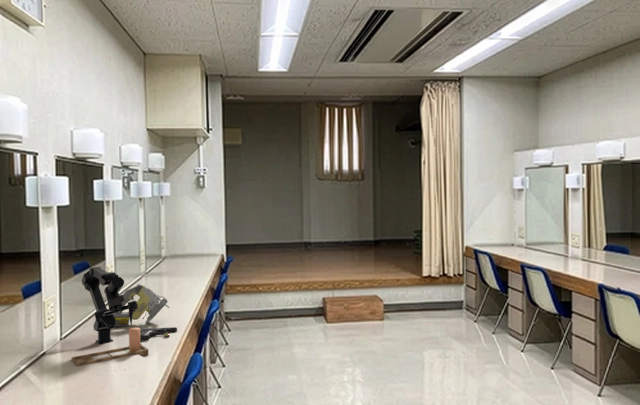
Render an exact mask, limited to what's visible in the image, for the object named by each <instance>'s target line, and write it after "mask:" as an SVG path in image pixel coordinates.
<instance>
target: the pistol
mask: <svg viewBox="0 0 640 405" xmlns="http://www.w3.org/2000/svg"><path fill="white" fill-rule="evenodd" d="M174 331H177V332H178V327H174V326H172V327H171V326H170V327H160V328H159V327H157V328H156V327H151V328H147V327H146V328H142V329H140V342H146V341H145V340H148V341H149V340H150V338H151V337H153V336H163V337H164V338H169V337H170V334H169V333H166V332H171V333H175V332H174Z"/></svg>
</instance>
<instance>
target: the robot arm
mask: <svg viewBox="0 0 640 405" xmlns="http://www.w3.org/2000/svg"><path fill="white" fill-rule="evenodd" d="M81 284H82V285H83V288H84V289H85V290H86V291H87V292H89V294H90V297H91V299H92V302H93V306H94V308H95V310H96V311H95V312H94V318H95V321H94V323H93V326H92V327H93V331H95V332H97V339H96V340H95V342H96V343H98V344H99V345H100V344H105V343H110V342H111V343H112V342H114V339H112V338H111V336H112V335H111V331H112V329H115V328H116V326H115V320H116V319H115V317H114V316H113V314H114V313H117V312H120V311H123V312H125V311H126V310H128V312H129V324H130V325H132V324H133V319H132V316H133V312H135V311H136V309H138V305H137V300H130V301H129V302H127V305H126V304H125V306H123V307H122V302H123V301H124V297H123V294H120V291H121V289H122V288H123V286H124V285H125V280H124V278H122V277H121V276H119V274H117V273H116V272H114V271H109V272H108V271H106V270H104V269H102V268H101V267H99V266H96V267H91V268H88V271H86V273H84V274H83V276H82V277H81ZM100 285H101V286H106V287H105V288H104V290H103V293H104V294H105V298H106V302H107V306H108V308H107V306H106V303H105V300H104V297H103V294H102V291H101V289H100Z"/></svg>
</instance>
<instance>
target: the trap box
mask: <svg viewBox="0 0 640 405" xmlns="http://www.w3.org/2000/svg"><path fill="white" fill-rule="evenodd" d="M140 346H141V350H140V351H136V352H129V346H124V347H119V348H118V347H117V348H115V349H109V350H104V351H98V352H93V353H87V354H82V355H78V356H72V357H71V361H72V362H73V363H74V364H75V366H76V367H80V366H86V365H90V364H96V363H100V362H101V363H102V362H105V361H110V360H115V359H121V358H125V357H129V356H130V357H131V356H134V355H138V356H141V357H146V355H147V356H149V349H148V348H147V347H145V346H144V345H142V343H140ZM122 351H124V352H125V353H121V354H117V355H112V353H117V352H122ZM106 354H107V355H109V356H108V357H107V356H106V357H101V358H96V359H94V357H96V356H102V355H106Z"/></svg>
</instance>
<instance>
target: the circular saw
mask: <svg viewBox="0 0 640 405" xmlns="http://www.w3.org/2000/svg"><path fill="white" fill-rule="evenodd" d="M122 295H123V297H124V301H123V302H122V307H123V306H126V304H128V302H131V301H135V298H134V297H135V296H138V297H139V298H138V300H136V302H137V305H138V309H136V311H135V312H133V316H132V321H133V320H135V321H137V320H139V319H140V318H141V317H142V315H143V314H145V315H144V316H143V317H142V318H141V319H142V320H144V319H145V318H146V316H147V314H148V317H147V318H146V320H145V323H146V324H148V323H149V322H150V321H152V320H153V319H154V318H155V317H156V316H157V314H158V313H159V312H160V311H161V310H162V309H163V308H164V307H166V308H167V309H170V306H169V305H167V303H168V301H169V300H168V299H167V298H165V297H164V296H163V295H158V294H157V293H156V292H154V291H153V289H151V288H149V287H146V286H145V285H142V284H139V283H138V284H137V285H135V286H133V287H131V288H129V289H126V290H125V291H124V293H123V294H122ZM161 298H162V299H161ZM113 316H114V317H115V319H116V320H115V327H129V326H130V317H129V311H120V312H117V313H114V314H113Z"/></svg>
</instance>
